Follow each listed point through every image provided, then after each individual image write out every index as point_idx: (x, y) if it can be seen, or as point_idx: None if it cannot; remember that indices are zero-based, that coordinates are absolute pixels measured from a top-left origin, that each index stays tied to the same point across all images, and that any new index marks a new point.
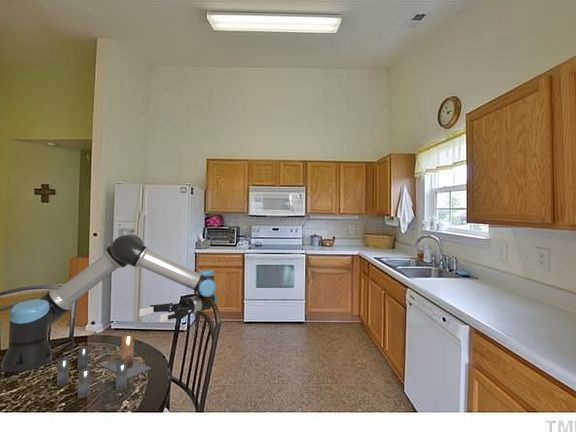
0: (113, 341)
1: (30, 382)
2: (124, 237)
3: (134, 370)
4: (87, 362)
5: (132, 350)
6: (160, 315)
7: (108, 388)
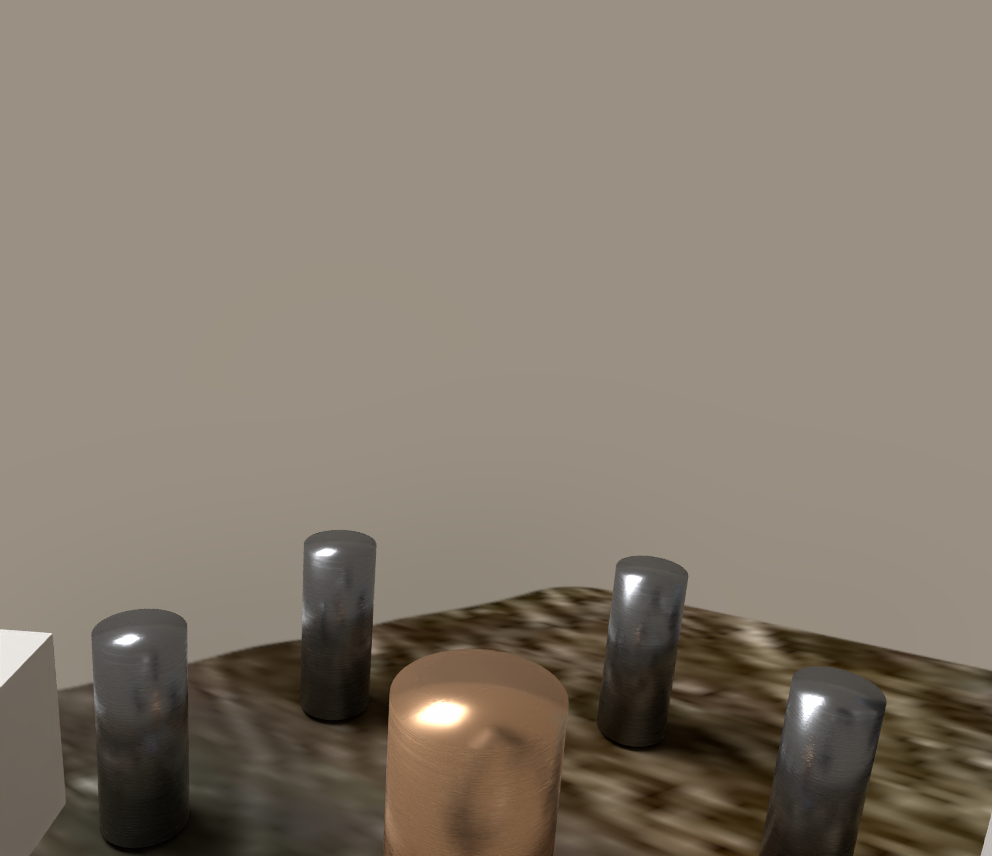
0: None
1: None
2: None
3: None
4: (786, 840)
5: None
6: (18, 632)
7: (256, 795)
